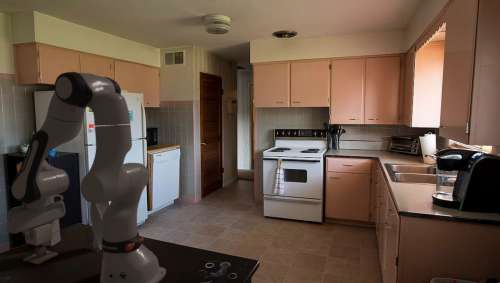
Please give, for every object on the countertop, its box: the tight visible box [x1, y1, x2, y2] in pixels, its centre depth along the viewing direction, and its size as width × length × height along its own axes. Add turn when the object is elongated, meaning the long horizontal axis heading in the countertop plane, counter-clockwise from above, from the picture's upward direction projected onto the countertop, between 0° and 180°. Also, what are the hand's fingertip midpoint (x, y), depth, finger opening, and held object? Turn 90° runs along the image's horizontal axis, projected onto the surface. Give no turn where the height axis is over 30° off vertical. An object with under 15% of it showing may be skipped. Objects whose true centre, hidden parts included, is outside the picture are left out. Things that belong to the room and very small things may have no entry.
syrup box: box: [42, 218, 61, 247], centre depth 128 cm, size 6×6×14 cm
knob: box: [25, 223, 53, 246], centre depth 115 cm, size 6×6×7 cm
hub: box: [23, 244, 59, 265], centre depth 116 cm, size 8×8×5 cm
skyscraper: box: [86, 202, 110, 252], centre depth 125 cm, size 8×8×28 cm
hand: (39, 235), depth 115 cm, fingers closed on knob, 6 cm apart
